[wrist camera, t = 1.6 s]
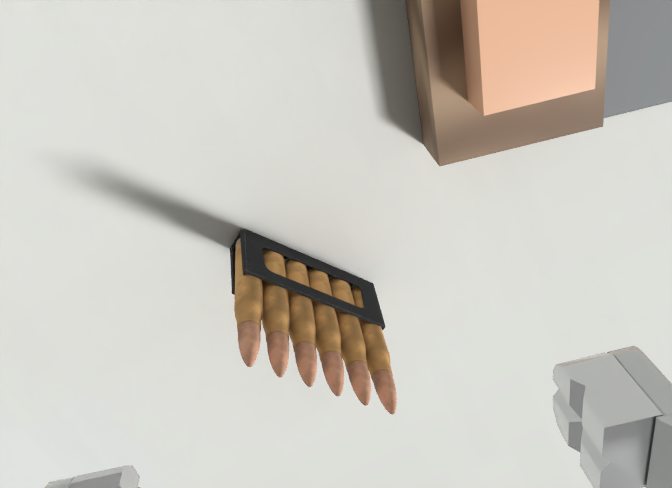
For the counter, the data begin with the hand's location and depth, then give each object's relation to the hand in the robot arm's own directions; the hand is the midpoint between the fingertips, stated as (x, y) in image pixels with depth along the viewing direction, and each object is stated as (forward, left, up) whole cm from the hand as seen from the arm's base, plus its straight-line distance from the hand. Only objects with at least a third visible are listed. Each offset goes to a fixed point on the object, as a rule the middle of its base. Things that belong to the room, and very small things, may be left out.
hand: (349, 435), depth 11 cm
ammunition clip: (+13, -2, -26) cm, 30 cm away
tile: (-2, +13, -21) cm, 25 cm away
